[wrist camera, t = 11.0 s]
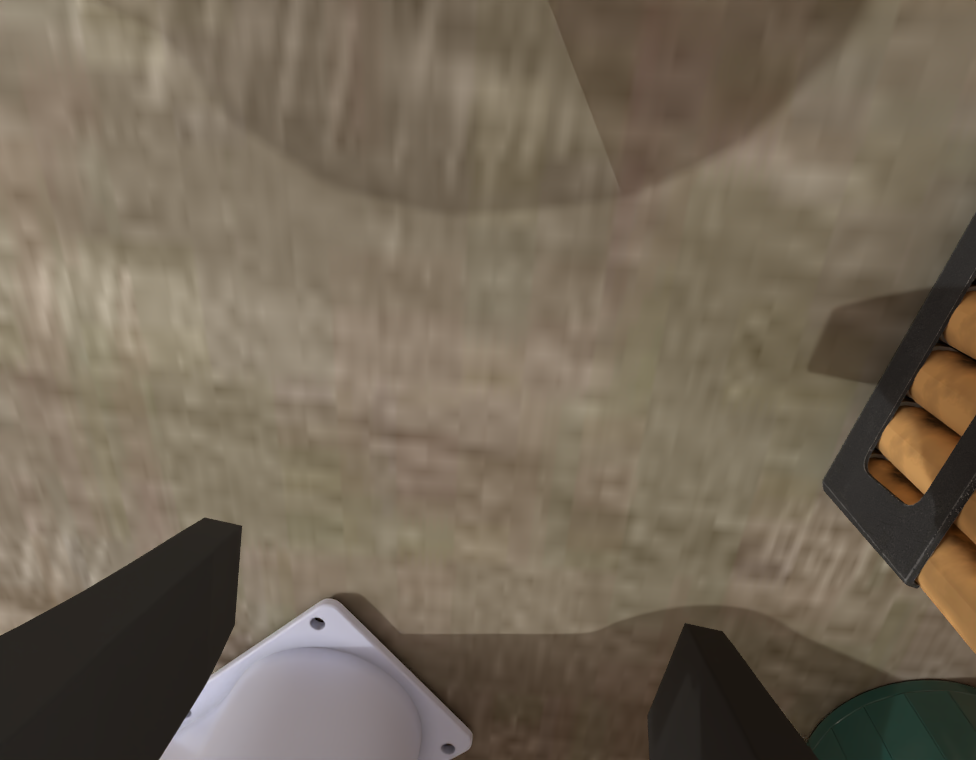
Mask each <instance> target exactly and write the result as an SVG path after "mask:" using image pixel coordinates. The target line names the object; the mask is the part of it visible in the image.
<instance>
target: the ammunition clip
mask: <svg viewBox="0 0 976 760" xmlns="http://www.w3.org/2000/svg"><path fill="white" fill-rule="evenodd" d="M823 489H824V491H825V492H826V494H827V495H828V496H829V497H830V498H831V499H832V501H833V502H834V503H835V504H836V505H837V506H838V507H839V509H840V510H841V511H842V512H843V513H844V514H845V515H846V517H847V518H848V519H849V520H850V521H851V522H852V524H853V525H854V526H855V527H856V528H857V529H858V530H859V532H860V533H861V534H862V535H863V536H864V537H865V538H866V540H867V541H868V542H869V543H870V544H871V545H872V546H873V548H874V549H875V550H876V551H877V552H878V553H879V555H880V556H881V557H882V558H883V559H884V560H885V561H886V563H887V564H888V565H889V566H890V567H891V568H892V569H893V571H894V572H895V573H896V574H897V575H898V576H899V578H900V579H901V580H902V581H903V582H904V583H905V584H906V585H908V586H911V587H914V588H918V587H919V586H920V587H921V588H922V589H923V591H924V592H925V593H926V594H927V595H928V597H929V598H930V599H931V600H932V601H933V603H934V604H935V605H936V606H937V608H938V609H939V610H940V611H941V612H942V614H943V615H944V616H945V617H946V619H947V620H948V621H949V622H950V623H951V625H952V626H953V627H954V628H955V630H956V631H957V632H958V633H959V634H960V636H961V637H962V638H963V639H964V641H965V642H966V643H967V644H968V645H969V647H970V648H971V649H972V650H973V651H974V653H975V654H976V213H975V215H974V217H973V218H972V220H971V222H970V224H969V225H968V227H967V229H966V231H965V232H964V234H963V236H962V238H961V239H960V241H959V243H958V245H957V246H956V248H955V250H954V252H953V253H952V255H951V257H950V259H949V260H948V262H947V264H946V266H945V267H944V269H943V271H942V273H941V274H940V276H939V278H938V280H937V281H936V283H935V285H934V287H933V289H932V290H931V292H930V294H929V296H928V297H927V299H926V301H925V303H924V304H923V306H922V308H921V310H920V311H919V313H918V315H917V317H916V318H915V320H914V322H913V324H912V325H911V327H910V329H909V331H908V332H907V334H906V336H905V338H904V339H903V341H902V343H901V345H900V346H899V348H898V350H897V352H896V353H895V355H894V357H893V359H892V360H891V362H890V364H889V366H888V367H887V369H886V371H885V373H884V374H883V376H882V378H881V380H880V381H879V383H878V385H877V387H876V388H875V390H874V392H873V394H872V395H871V397H870V399H869V401H868V402H867V404H866V406H865V408H864V409H863V411H862V413H861V415H860V416H859V418H858V420H857V422H856V423H855V425H854V427H853V429H852V430H851V432H850V434H849V436H848V437H847V439H846V441H845V443H844V444H843V446H842V448H841V450H840V451H839V453H838V455H837V457H836V458H835V460H834V462H833V464H832V465H831V467H830V469H829V471H828V472H827V474H826V476H825V478H824V479H823Z"/></svg>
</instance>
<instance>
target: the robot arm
mask: <svg viewBox="0 0 976 760" xmlns="http://www.w3.org/2000/svg"><path fill="white" fill-rule="evenodd" d="M241 533H242V526H241V525H236V524H232V523H227V522H222V521H218V520H213V519H209V518H203V519H202V520H200V521H198V522H197V523H195V524H193V525H192V526H190V527H188V528H186V529H185V530H183V531H182V532H180V533H178V534H177V535H175V536H173V537H172V538H170V539H169V540H167V541H165V542H164V543H162V544H161V545H159V546H157V547H156V548H154V549H153V550H151V551H149V552H148V553H146V554H144V555H143V556H141V557H140V558H138V559H136V560H135V561H133V562H132V563H130V564H128V565H127V566H125V567H123V568H122V569H120V570H118V571H117V572H115V573H113V574H111V575H110V576H108V577H106V578H105V579H103V580H101V581H100V582H98V583H96V584H95V585H93V586H91V587H90V588H88V589H86V590H85V591H83V592H81V593H79V594H78V595H76V596H74V597H72V598H70V599H68V600H67V601H65V602H63V603H61V604H59V605H57V606H56V607H54V608H52V609H50V610H48V611H46V612H44V613H43V614H41V615H39V616H37V617H35V618H33V619H32V620H30V621H28V622H26V623H24V624H22V625H20V626H19V627H17V628H15V629H13V630H11V631H9V632H7V633H5V634H3V635H1V636H0V760H451V759H453V758H455V757H456V756H458V755H460V754H462V753H464V752H466V751H467V750H469V749H470V748H471V746H472V740H473V735H472V732H471V731H470V729H469V728H468V727H467V726H466V725H465V724H464V723H463V722H462V721H461V720H460V719H459V718H457V717H456V716H455V715H454V714H453V713H452V712H451V711H450V710H449V709H448V708H447V707H446V706H445V705H444V704H443V703H442V702H441V701H440V700H439V699H438V698H437V697H436V696H435V695H434V694H433V693H432V692H431V691H430V690H429V689H428V688H427V687H426V686H425V685H424V684H423V683H422V682H421V681H420V680H419V679H418V678H417V677H416V676H415V675H414V674H413V673H412V672H411V671H410V670H409V669H408V668H407V667H406V666H405V665H404V664H402V663H401V662H400V661H399V660H398V659H397V658H396V657H395V656H394V655H393V654H392V653H391V652H390V651H389V650H388V649H387V648H386V647H385V646H384V645H383V644H382V643H381V642H380V641H379V640H378V639H377V638H376V637H375V636H374V635H373V634H372V633H371V632H370V631H369V630H368V629H367V628H366V627H365V626H364V625H363V624H362V623H361V622H360V621H359V620H358V619H357V618H356V617H355V616H354V615H353V614H352V613H351V612H350V611H349V610H347V609H346V608H345V607H344V606H343V605H342V604H341V603H340V602H339V601H337V600H335V599H331V598H330V599H324V600H321V601H320V602H318V603H317V604H315V605H314V606H312V607H311V608H309V609H308V610H306V611H305V612H303V613H302V614H300V615H299V616H297V617H296V618H294V619H293V620H291V621H290V622H289V623H287V624H286V625H284V626H283V627H281V628H280V629H278V630H277V631H275V632H274V633H272V634H271V635H269V636H268V637H266V638H265V639H263V640H262V641H260V642H259V643H257V644H256V645H255V646H253V647H252V648H250V649H249V650H247V651H246V652H244V653H243V654H241V655H240V656H238V657H237V658H235V659H234V660H232V661H231V662H229V663H228V664H226V665H225V666H224V667H222V668H221V669H219V670H218V671H216V672H215V673H213V674H212V671H213V669H214V667H215V665H216V663H217V661H218V659H219V657H220V655H221V653H222V651H223V649H224V646H225V644H226V642H227V640H228V638H229V636H230V634H231V631H232V629H233V627H234V625H235V613H236V600H237V586H238V573H239V560H240V546H241ZM315 618H320V619H322V620H323V621H324V622H319V621H317V620H315ZM211 674H212V675H211ZM648 738H649V758H650V760H819V759H818V758H817V757H816V755H815V754H814V753H813V751H812V750H811V749H810V748H809V746H808V745H807V744H806V743H805V741H804V740H803V739H802V737H801V736H800V735H799V733H798V732H797V731H796V729H795V728H794V727H793V726H792V724H791V723H790V722H789V720H788V719H787V718H786V716H785V715H784V714H783V712H782V711H781V710H780V708H779V707H778V706H777V704H776V703H775V701H774V700H773V699H772V697H771V696H770V695H769V693H768V692H767V691H766V689H765V688H764V686H763V685H762V684H761V682H760V681H759V680H758V678H757V677H756V676H755V674H754V673H753V671H752V670H751V669H750V667H749V666H748V665H747V663H746V662H745V660H744V659H743V658H742V656H741V655H740V654H739V652H738V651H737V650H736V648H735V647H734V646H733V644H732V643H731V642H730V640H729V639H728V638H727V637H726V635H725V634H724V633H723V631H718V630H714V629H709V628H704V627H700V626H695V625H691V624H686V623H685V624H684V627H683V629H682V632H681V634H680V637H679V639H678V642H677V644H676V647H675V649H674V652H673V654H672V656H671V659H670V661H669V664H668V666H667V669H666V671H665V674H664V676H663V679H662V681H661V684H660V686H659V688H658V691H657V693H656V696H655V698H654V701H653V703H652V706H651V708H650V711H649V713H648ZM446 744H451V745H446Z"/></svg>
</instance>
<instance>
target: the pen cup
mask: <svg viewBox="0 0 976 760" xmlns="http://www.w3.org/2000/svg"><path fill="white" fill-rule="evenodd" d="M807 745H808V746H809V748H810V749H811V750H812V751H813V753H814V754H815V755H816V757H817V758H818V759H819V760H976V688H974V687H972V686H969V685H965V684H960V683H956V682H950V681H941V680H916V681H906V682H900V683H894V684H890V685H886V686H882V687H879V688H876V689H873V690H870V691H868V692H865V693H863V694H861V695H859V696H857V697H855V698H853V699H851V700H849V701H847V702H846V703H844V704H843V705H841V706H839V707H838V708H837V709H835V710H834V711H833V712H832V713H830V714H829V715H828V716H827V717H826V718H825V719H824V720H823V721H822V722H821V723H820V724H819V725H818V726H817V728H816V729H815V730H814V732H813V733H812V734H811V736H810V738H809V740H808V742H807Z"/></svg>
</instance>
